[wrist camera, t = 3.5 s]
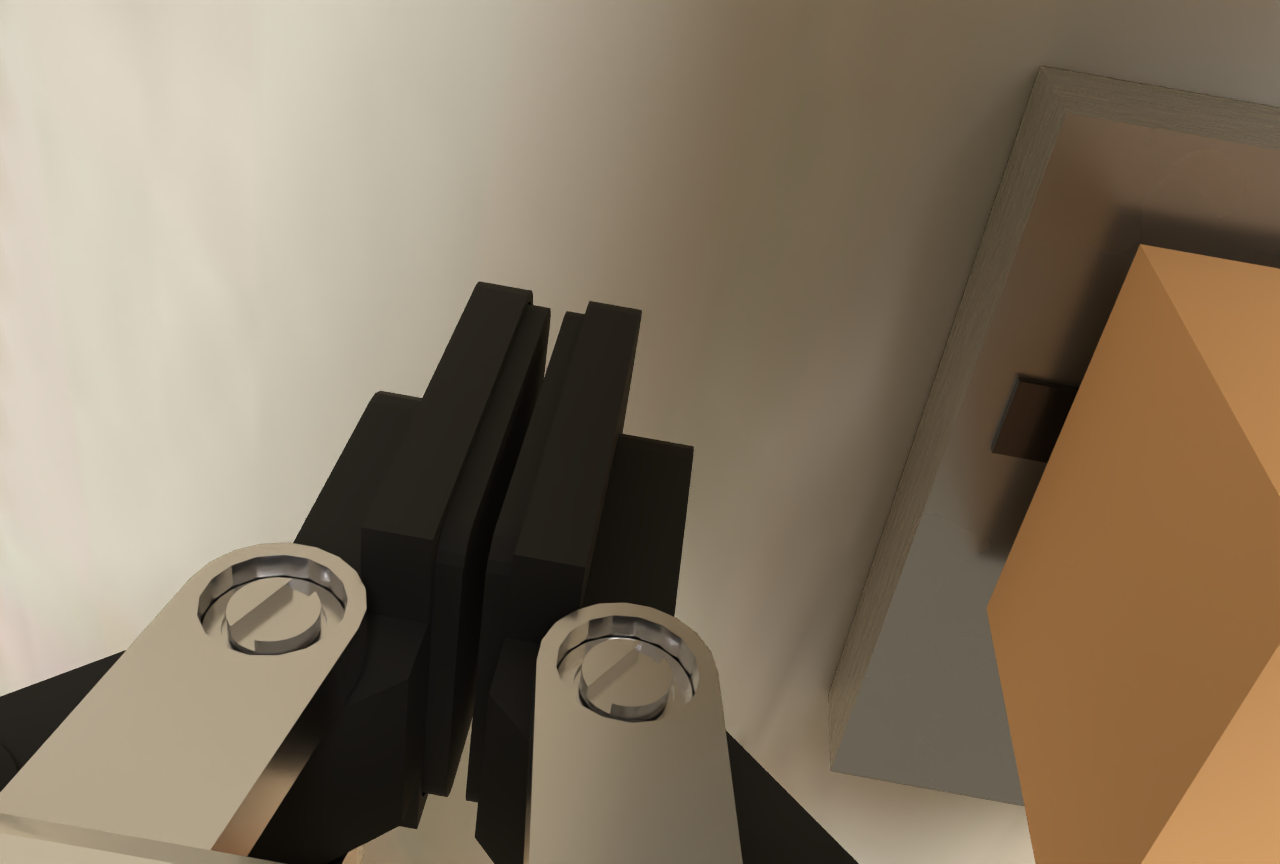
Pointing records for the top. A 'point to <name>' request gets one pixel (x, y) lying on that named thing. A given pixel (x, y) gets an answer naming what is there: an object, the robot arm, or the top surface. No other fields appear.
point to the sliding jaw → (1155, 584)
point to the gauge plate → (1028, 399)
